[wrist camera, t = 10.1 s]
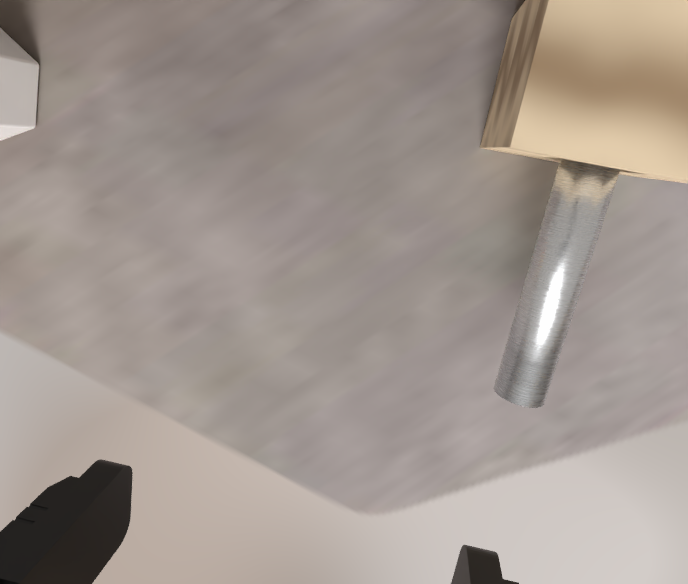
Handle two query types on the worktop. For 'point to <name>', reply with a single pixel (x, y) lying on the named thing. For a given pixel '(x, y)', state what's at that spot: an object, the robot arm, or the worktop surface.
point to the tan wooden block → (596, 86)
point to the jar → (17, 88)
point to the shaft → (554, 280)
